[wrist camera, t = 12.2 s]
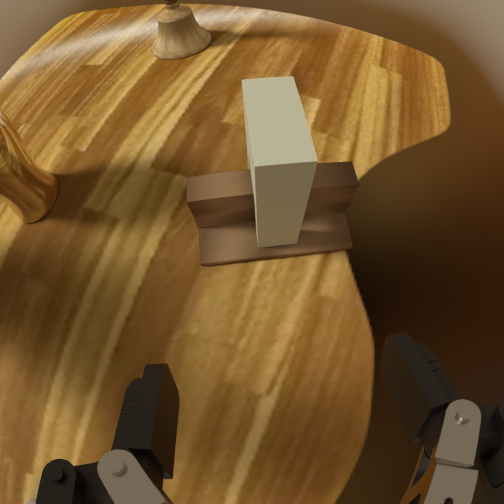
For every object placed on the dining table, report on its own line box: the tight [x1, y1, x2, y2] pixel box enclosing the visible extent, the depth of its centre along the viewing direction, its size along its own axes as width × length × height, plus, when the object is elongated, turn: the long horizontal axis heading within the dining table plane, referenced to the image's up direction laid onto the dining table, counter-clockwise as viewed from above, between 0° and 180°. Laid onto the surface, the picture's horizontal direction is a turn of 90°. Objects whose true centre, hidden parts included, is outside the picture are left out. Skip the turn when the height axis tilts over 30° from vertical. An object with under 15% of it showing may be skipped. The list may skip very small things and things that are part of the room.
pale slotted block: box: [242, 76, 318, 248], centre depth 21 cm, size 6×3×11 cm, turn 6°
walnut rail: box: [186, 162, 359, 266], centre depth 24 cm, size 12×8×5 cm, turn 96°
